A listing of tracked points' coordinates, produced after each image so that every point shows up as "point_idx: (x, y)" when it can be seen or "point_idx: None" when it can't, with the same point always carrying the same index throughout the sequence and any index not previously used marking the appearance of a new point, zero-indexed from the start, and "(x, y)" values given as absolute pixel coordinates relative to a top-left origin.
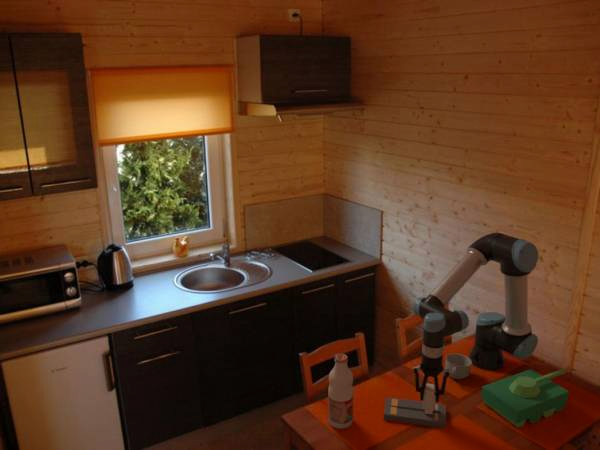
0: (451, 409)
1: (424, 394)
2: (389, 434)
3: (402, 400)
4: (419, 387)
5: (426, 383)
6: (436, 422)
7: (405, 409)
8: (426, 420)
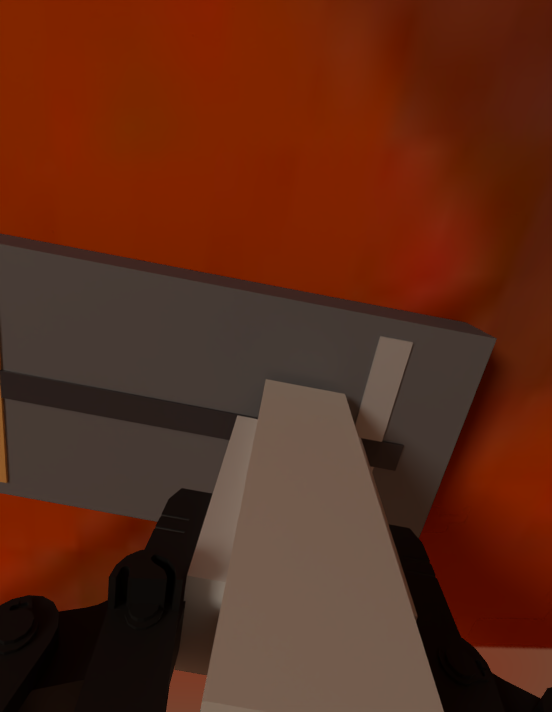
0: (531, 309)
1: (188, 665)
2: (15, 570)
3: (43, 274)
4: (42, 699)
5: (210, 704)
6: None
7: (80, 416)
8: None
